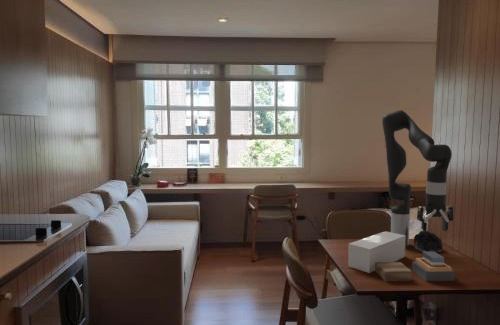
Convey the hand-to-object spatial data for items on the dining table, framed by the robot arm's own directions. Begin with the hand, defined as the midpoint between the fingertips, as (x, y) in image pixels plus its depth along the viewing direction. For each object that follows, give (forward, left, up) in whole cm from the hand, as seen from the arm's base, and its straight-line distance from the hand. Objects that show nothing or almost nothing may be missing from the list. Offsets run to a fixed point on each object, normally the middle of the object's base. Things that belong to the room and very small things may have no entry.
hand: (434, 230), depth 156 cm
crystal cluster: (-35, +16, -20) cm, 43 cm away
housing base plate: (0, 0, -15) cm, 15 cm away
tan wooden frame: (0, 0, -19) cm, 19 cm away
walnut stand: (0, -17, -19) cm, 26 cm away
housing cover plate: (0, 0, -12) cm, 12 cm away
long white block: (-18, -17, -20) cm, 32 cm away
